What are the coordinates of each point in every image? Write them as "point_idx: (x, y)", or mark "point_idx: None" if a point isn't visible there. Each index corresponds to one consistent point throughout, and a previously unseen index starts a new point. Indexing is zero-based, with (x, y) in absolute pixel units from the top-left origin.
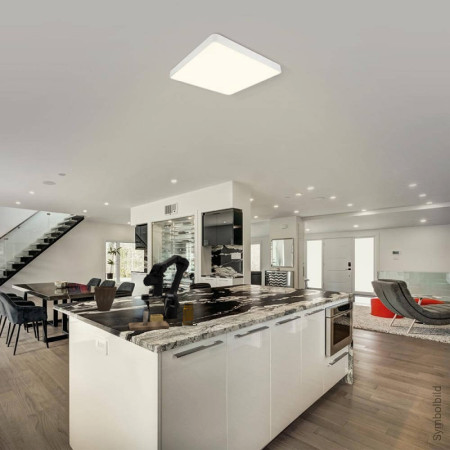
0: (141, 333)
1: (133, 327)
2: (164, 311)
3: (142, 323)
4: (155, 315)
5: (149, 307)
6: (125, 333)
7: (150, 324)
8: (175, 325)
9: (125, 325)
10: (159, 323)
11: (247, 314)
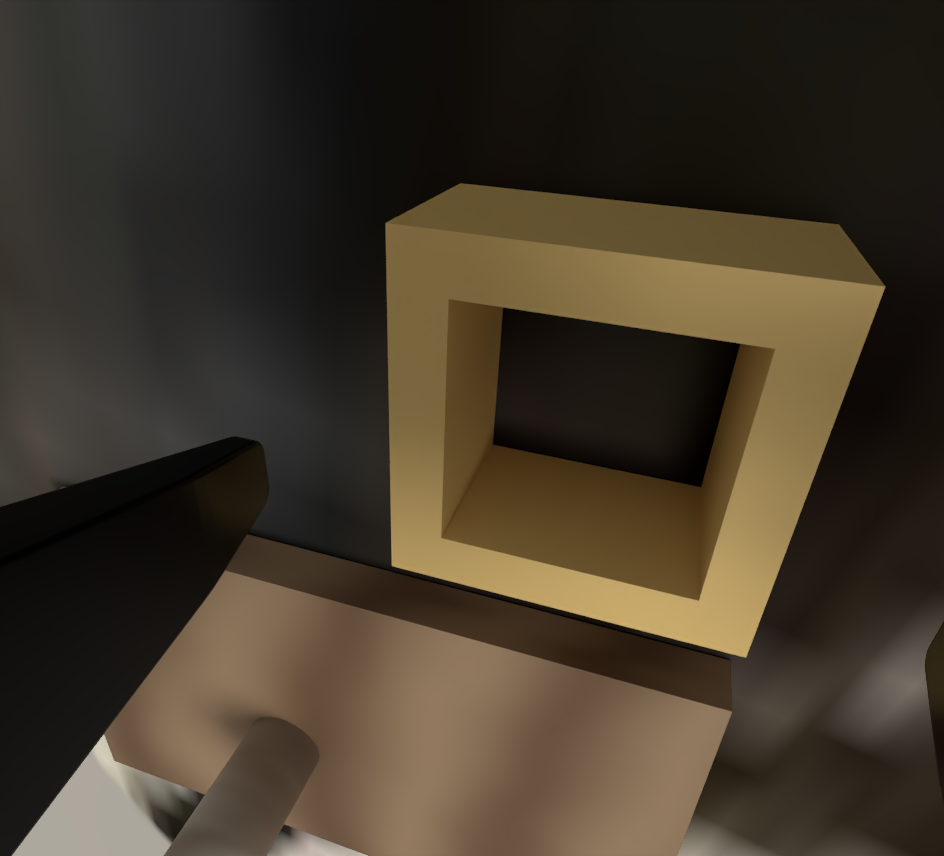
0: (268, 852)
1: (145, 764)
2: (929, 646)
3: (241, 650)
4: (586, 312)
5: (133, 690)
6: (116, 771)
7: (365, 764)
8: (867, 847)
9: (12, 440)
10: (528, 791)
11: None
